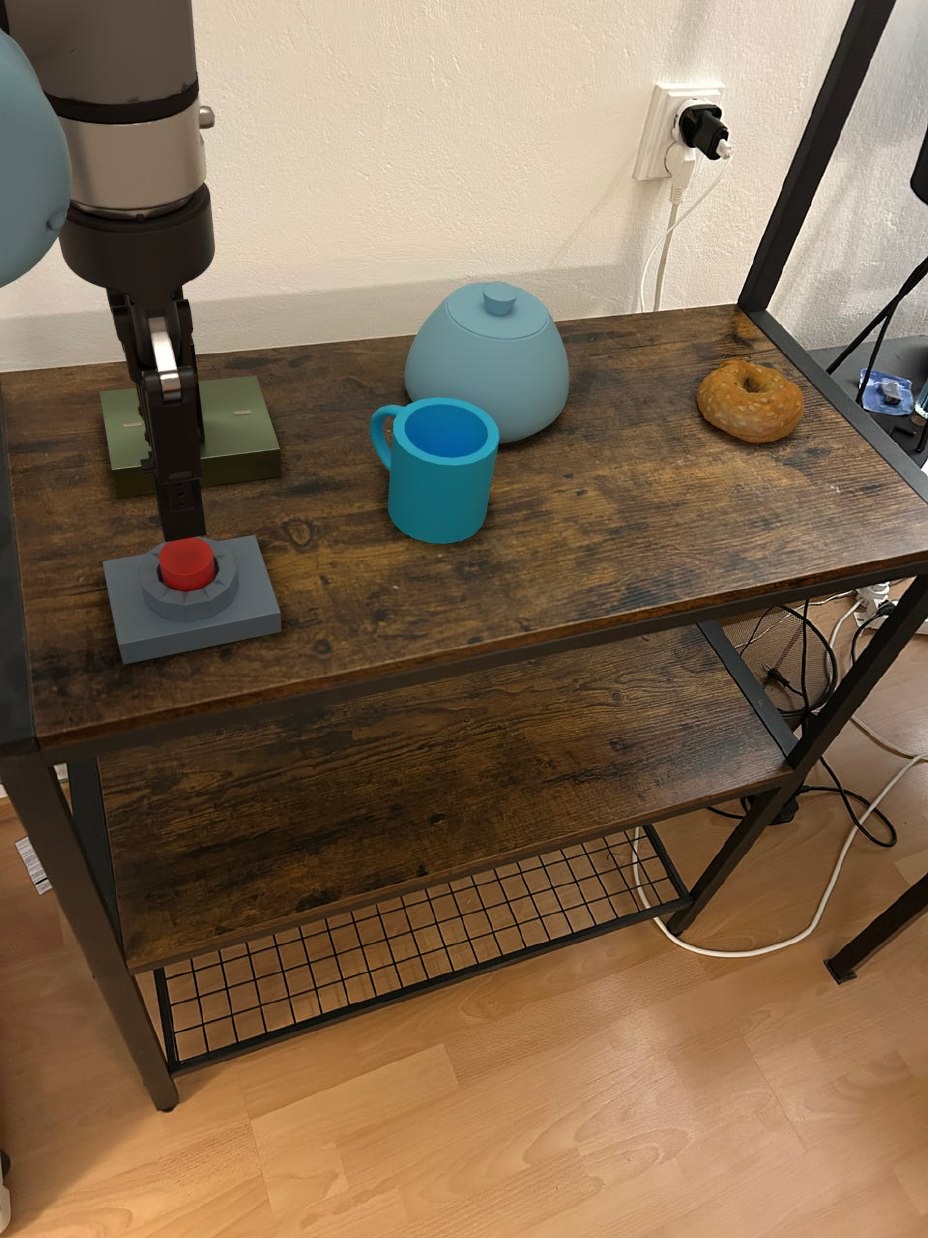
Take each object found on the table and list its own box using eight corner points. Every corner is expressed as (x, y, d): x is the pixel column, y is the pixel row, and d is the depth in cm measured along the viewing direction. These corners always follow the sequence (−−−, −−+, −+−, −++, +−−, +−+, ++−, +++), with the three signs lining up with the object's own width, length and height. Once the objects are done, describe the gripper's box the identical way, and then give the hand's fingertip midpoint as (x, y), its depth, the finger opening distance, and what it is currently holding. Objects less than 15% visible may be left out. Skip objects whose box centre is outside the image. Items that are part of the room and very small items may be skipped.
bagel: (803, 400, 96) (821, 359, 93) (785, 464, 89) (805, 422, 86) (706, 369, 98) (721, 328, 94) (682, 430, 91) (697, 388, 87)
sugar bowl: (591, 397, 92) (619, 287, 84) (508, 477, 84) (530, 363, 75) (461, 335, 97) (475, 225, 88) (370, 404, 88) (375, 289, 79)
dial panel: (118, 499, 77) (111, 468, 74) (105, 419, 83) (98, 388, 80) (281, 477, 80) (280, 447, 78) (257, 402, 86) (256, 372, 84)
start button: (166, 596, 66) (163, 578, 65) (157, 559, 68) (154, 541, 67) (219, 586, 67) (217, 569, 66) (209, 550, 69) (207, 532, 68)
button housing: (123, 664, 66) (113, 627, 63) (107, 581, 71) (97, 543, 68) (281, 632, 70) (279, 595, 67) (256, 554, 74) (253, 516, 71)
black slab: (205, 440, 78) (194, 341, 71) (182, 443, 77) (168, 343, 70) (194, 395, 81) (182, 296, 74) (171, 397, 81) (157, 298, 74)
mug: (506, 512, 81) (521, 434, 75) (438, 559, 76) (448, 480, 70) (404, 440, 85) (410, 362, 79) (335, 481, 81) (335, 401, 75)
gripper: (236, 244, 44) (262, 590, 62) (183, 120, 52) (220, 460, 70) (62, 259, 42) (141, 613, 60) (34, 126, 50) (111, 476, 67)
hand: (184, 530), depth 65 cm, fingers closed
